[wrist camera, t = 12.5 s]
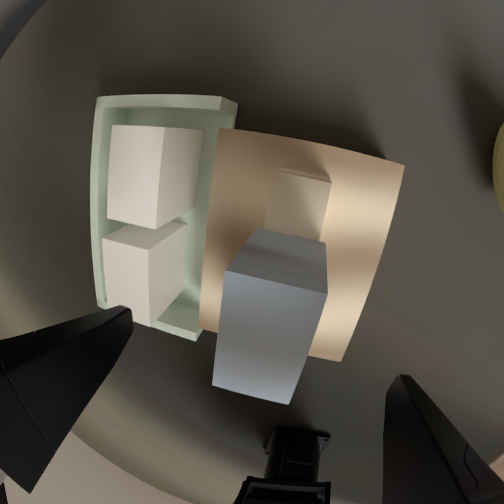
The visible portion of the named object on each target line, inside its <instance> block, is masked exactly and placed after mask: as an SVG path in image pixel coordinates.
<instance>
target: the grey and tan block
mask: <svg viewBox="0 0 504 504" xmlns="http://www.w3.org/2000/svg"><path fill="white" fill-rule="evenodd" d="M331 186H332V182H331V179H330V177H329V175H327V174H323V173H318V172H314V171H309V170H304V169H300V168H295V167H290V166H285V165H283V166H281V167H279V168H278V169H276V170H274V171H273V176H272V182H271V188H270V194H269V200H268V206H267V211H266V217H265V223H264V229H262V228H256V229H255V230H254V232H253V233H252V234H251V236H250V237H249V238H248V240H247V241H246V242H245V244H244V245H243V247H242V248H241V249H240V251H239V252H238V253H237V255H236V256H235V257H234V259H233V260H232V262H231V263H230V264H229V266H228V267H227V268H226V270H225V276H224V284H223V292H222V300H221V309H220V317H219V326H218V335H217V344H216V353H215V362H214V371H213V381H212V385H213V386H217V387H220V388H223V389H227V390H230V391H234V392H238V393H241V394H245V395H249V396H253V397H257V398H261V399H265V400H269V401H274V402H278V403H283V404H287V405H289V402H290V400H291V397H292V395H293V392H294V390H295V387H296V385H297V382H298V379H299V377H300V374H301V372H302V369H303V366H304V364H305V361H306V358H307V355H308V353H309V350H310V347H311V344H312V341H313V338H314V335H315V332H316V330H317V327H318V324H319V321H320V318H321V314H322V311H323V308H324V305H325V302H326V299H327V296H328V280H327V256H326V243H324V242H320V241H319V239H320V235H321V230H322V226H323V222H324V218H325V213H326V209H327V204H328V200H329V195H330V190H331Z"/></svg>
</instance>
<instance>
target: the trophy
mask: <svg viewBox="0 0 504 504" xmlns="http://www.w3.org/2000/svg"><path fill="white" fill-rule="evenodd" d="M492 172H493V183H494V190H495V194H496V198H497V201H498V204H499V206H500V208H501V210H502V212H503V214H504V123H503V124H502V126H501V128H500V130H499V132H498V135H497V138H496V142H495V146H494V152H493V168H492Z"/></svg>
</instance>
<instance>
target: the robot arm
mask: <svg viewBox="0 0 504 504" xmlns="http://www.w3.org/2000/svg"><path fill="white" fill-rule="evenodd" d="M132 332H133V317H132V310H131V309H130V308H129V307H126V306H123V305H118V306H115V307H112V308H109V309H105V310H102V311H99V312H96V313H92V314H89V315H86V316H83V317H79V318H76V319H73V320H69V321H66V322H63V323H60V324H56V325H53V326H50V327H46V328H43V329H40V330H36V331H35V332H34V331H33V332H30V333H26V334H23V335H19V336H16V337H11V338H7V339H2V340H0V504H8V502H7V497H6V491H5V486H4V482H3V481H4V480H5V478H6V477H7V476H9V477H10V478H11V479H12V480H13V481H15V482H16V483H17V484H18V485H19V486H20V487H22V488H23V489H24V490H25V491H27V492H28V493H29V494H30V493H31V492H32V490H33V489H34V487H35V485H36V484H37V482H38V480H39V479H40V477H41V475H42V474H43V472H44V471H45V469H46V467H47V465H48V464H49V463H50V461H51V459H52V458H53V456H54V455H55V452H56V451H57V449H58V448H59V446H60V445H61V443H62V442H63V440H64V439H65V437H66V436H67V434H68V433H69V431H70V430H71V428H72V427H73V425H74V423H75V422H76V420H77V419H78V417H79V416H80V415H81V413H82V412H83V410H84V409H85V407H86V406H87V404H88V403H89V401H90V400H91V398H92V397H93V395H94V394H95V392H96V391H97V390H98V388H99V387H100V385H101V384H102V382H103V381H104V380H105V378H106V377H107V375H108V374H109V372H110V371H111V370H112V368H113V367H114V365H115V363H116V362H117V360H118V358H119V356H120V354H121V352H122V351H123V349H124V347H125V345H126V344H127V342H128V340H129V338H130V336H131V335H132ZM330 441H331V436H330V435H324V434H318V433H311V432H305V431H300V430H294V429H289V428H284V427H279V426H276V427H274V429H273V432H272V434H271V436H270V439H269V441H268V444H267V446H266V448H265V451H264V453H265V454H266V455H269V458H268V462H267V466H266V470H265V474H264V478H256V477H253V476H247V479H246V481H243V484H242V487H241V490H240V492H239V494H238V496H237V498H236V499H235V501H234V503H233V504H330V490H331V482H317V477H318V469H319V459H320V455H321V453H322V452H323V451H324V449H325V448H326V446H327V445H328V444H329V442H330ZM382 504H504V482H503V481H502V479H501V478H500V477H499V476H498V475H497V474H496V473H495V472H494V471H493V470H492V469H491V468H490V467H489V466H488V465H487V464H486V463H485V462H484V461H483V460H482V459H481V458H480V456H479V455H478V454H477V453H476V452H475V451H474V449H473V448H472V447H471V446H470V445H469V443H467V441H466V440H465V439H464V437H463V436H462V435H461V434H460V433H459V431H458V430H457V429H456V428H455V427H454V425H453V424H452V423H451V422H450V421H449V420H448V418H447V417H446V416H445V415H444V414H443V413H442V411H441V410H440V409H439V408H438V407H437V406H436V404H435V403H434V402H433V401H432V400H431V399H430V397H429V396H428V395H427V394H426V393H425V392H424V391H423V389H422V388H421V387H420V386H419V385H418V384H417V383H416V382H415V380H414V379H413V378H412V377H411V376H410V375H405V374H399V375H397V377H396V378H395V380H394V381H393V383H392V384H391V386H390V388H389V389H388V391H387V394H386V403H385V419H384V432H383V497H382Z"/></svg>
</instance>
